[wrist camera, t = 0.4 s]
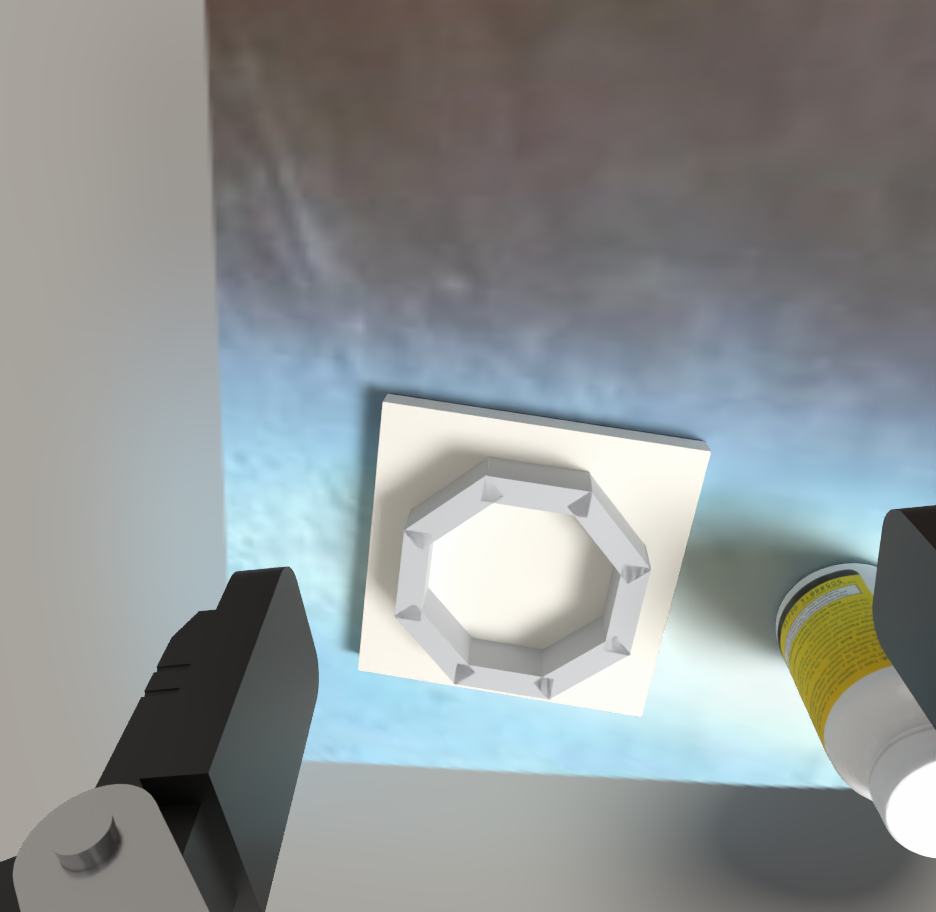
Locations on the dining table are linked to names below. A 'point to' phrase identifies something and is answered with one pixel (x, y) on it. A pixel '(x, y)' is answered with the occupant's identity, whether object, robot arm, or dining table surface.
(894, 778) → the supplement bottle
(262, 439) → the dining table surface
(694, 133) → the dining table surface
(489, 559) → the seat plate
